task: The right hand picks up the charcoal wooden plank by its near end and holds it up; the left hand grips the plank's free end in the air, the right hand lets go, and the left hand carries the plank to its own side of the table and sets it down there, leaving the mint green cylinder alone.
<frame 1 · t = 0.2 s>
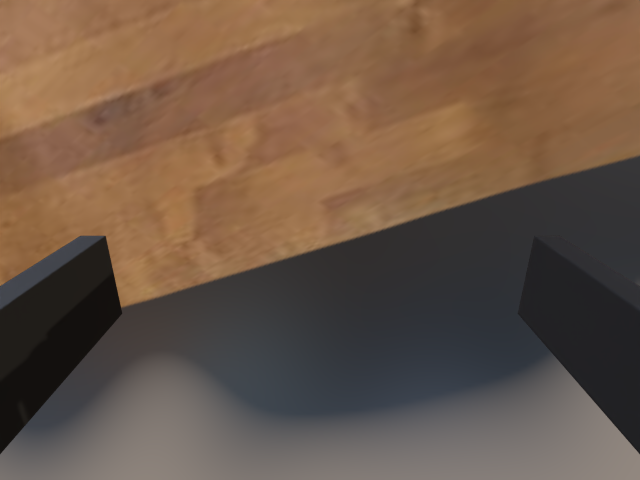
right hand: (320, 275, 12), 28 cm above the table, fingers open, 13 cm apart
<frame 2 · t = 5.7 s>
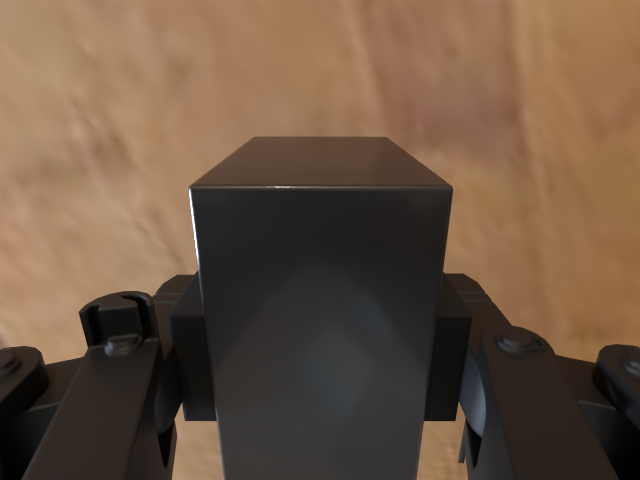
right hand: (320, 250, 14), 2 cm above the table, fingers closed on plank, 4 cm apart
plank: (319, 431, 18), point 2 cm above the table, touching right hand
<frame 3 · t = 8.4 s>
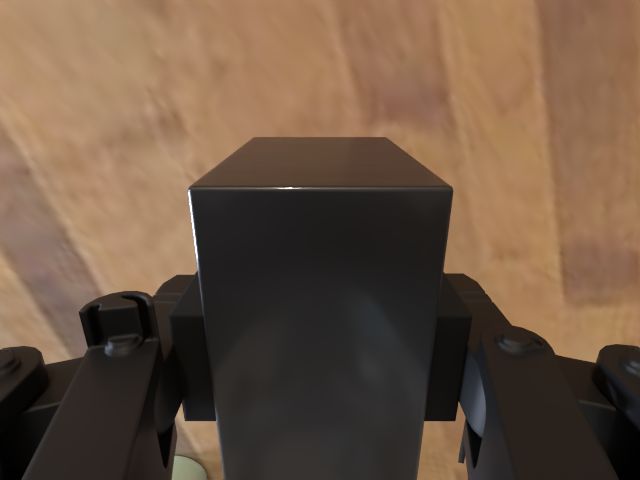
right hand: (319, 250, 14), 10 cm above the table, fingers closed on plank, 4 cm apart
plank: (319, 431, 18), point 10 cm above the table, touching right hand
mint green cylinder: (177, 476, 33), on the table
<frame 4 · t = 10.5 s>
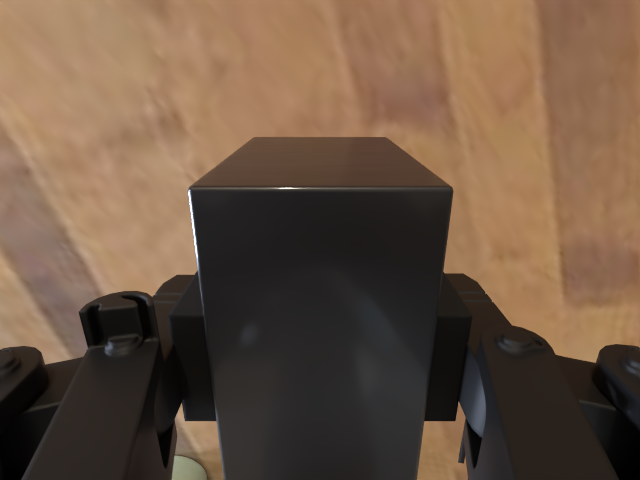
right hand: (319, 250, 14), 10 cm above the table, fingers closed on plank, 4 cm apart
plank: (319, 431, 18), point 10 cm above the table, touching right hand, left hand
mint green cylinder: (177, 476, 33), on the table
when the right hand's fingers open (10 cm above the table, at t = 11.4 s): plank stays where it is, held by the left hand.
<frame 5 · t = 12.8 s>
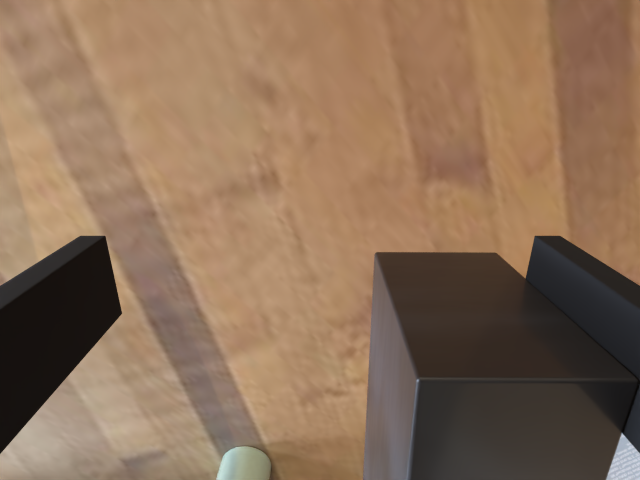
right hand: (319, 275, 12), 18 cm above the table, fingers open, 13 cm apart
mint green cylinder: (246, 465, 39), on the table
hard drive box: (613, 441, 37), on the table
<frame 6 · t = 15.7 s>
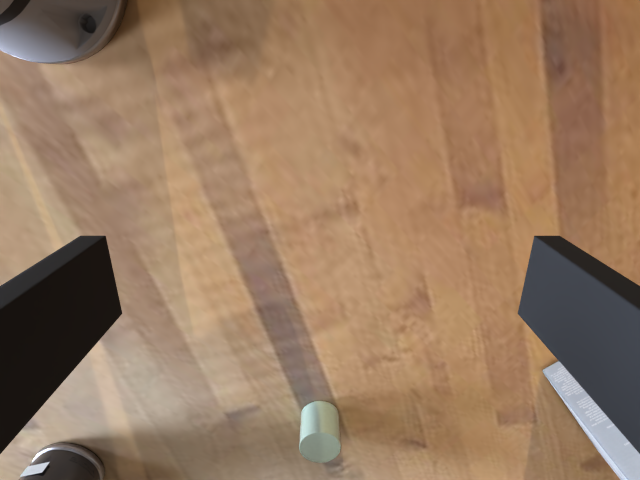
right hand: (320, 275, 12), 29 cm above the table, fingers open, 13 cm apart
mint green cylinder: (319, 415, 52), on the table
hard drive box: (592, 391, 50), on the table
when the left hand's fingers open (4 cm above the table, at t = 21.0 s): plank stays where it is, on the table.
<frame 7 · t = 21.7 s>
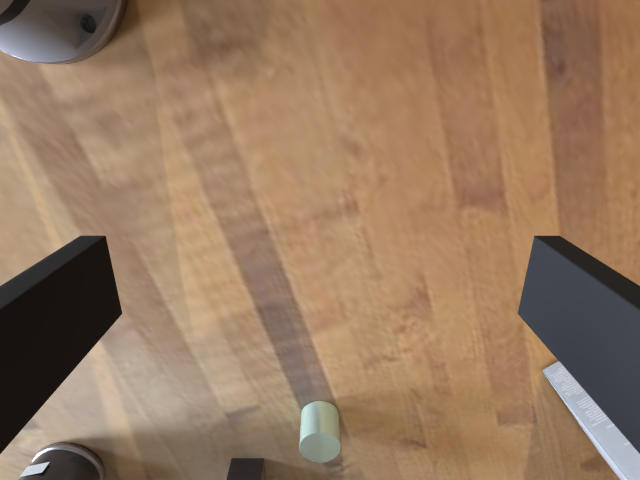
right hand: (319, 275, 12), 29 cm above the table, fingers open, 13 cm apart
mint green cylinder: (319, 415, 52), on the table
hard drive box: (592, 391, 50), on the table
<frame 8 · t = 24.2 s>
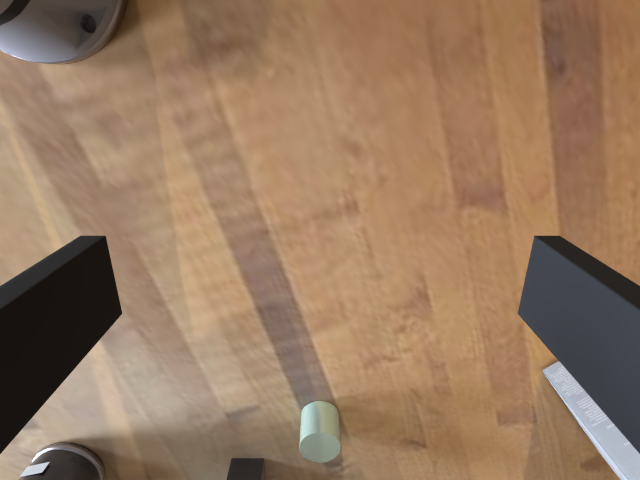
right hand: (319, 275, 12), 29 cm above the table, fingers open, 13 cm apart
mint green cylinder: (319, 415, 52), on the table
hard drive box: (592, 391, 50), on the table
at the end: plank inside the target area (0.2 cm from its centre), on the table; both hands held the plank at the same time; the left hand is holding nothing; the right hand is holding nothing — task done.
